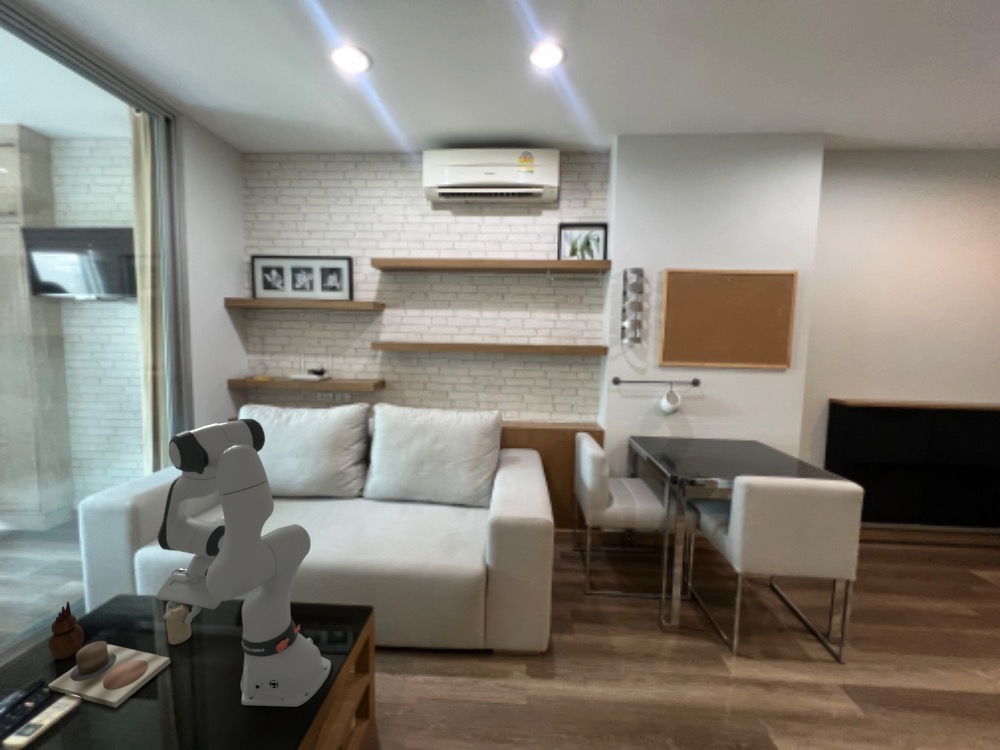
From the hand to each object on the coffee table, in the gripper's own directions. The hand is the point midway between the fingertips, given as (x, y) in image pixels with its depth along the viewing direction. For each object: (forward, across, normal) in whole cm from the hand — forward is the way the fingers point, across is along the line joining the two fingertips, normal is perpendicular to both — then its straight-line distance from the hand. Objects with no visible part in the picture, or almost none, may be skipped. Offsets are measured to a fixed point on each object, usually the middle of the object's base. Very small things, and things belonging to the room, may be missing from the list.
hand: (176, 621), depth 126 cm
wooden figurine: (+12, -25, -4) cm, 28 cm away
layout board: (+14, -5, -6) cm, 16 cm away
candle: (+4, 0, +5) cm, 6 cm away
